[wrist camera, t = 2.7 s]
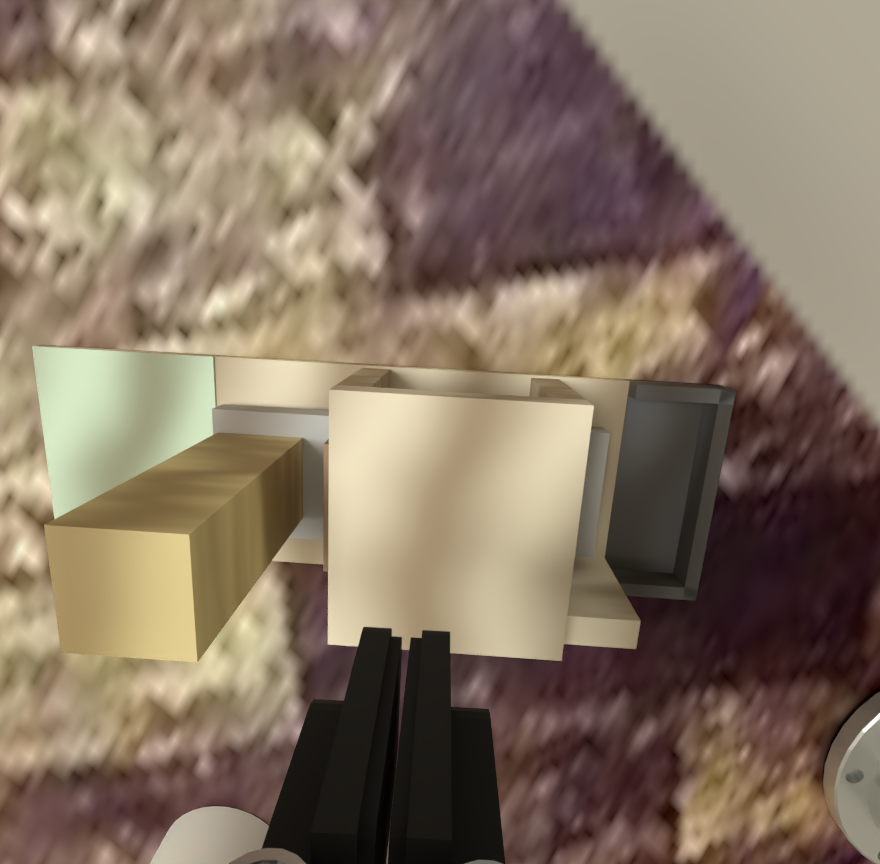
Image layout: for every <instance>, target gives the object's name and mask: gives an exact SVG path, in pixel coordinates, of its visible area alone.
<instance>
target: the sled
mask: <svg viewBox="0 0 880 864" xmlns="http://www.w3.org/2000/svg"><path fill="white" fill-rule="evenodd" d="M212 422H213V435H212V436H210V437H208V438H206V439H205V440H203V441H201V442H199V443H197V444H195V445H193V446H191V447H190V448H188V449H186V450H184V451H182V452H180V453H178V454H176V455H174V456H173V457H171V458H169V459H167V460H165V461H163V462H161V463H159V464H158V465H156V466H154V467H152V468H150V469H148V470H146V471H144V472H143V473H141V474H139V475H137V476H135V477H133V478H131V479H129V480H128V481H126V482H124V483H122V484H120V485H118V486H116V487H114V488H112V489H111V490H109V491H107V492H105V493H103V494H101V495H99V496H97V497H96V498H94V499H92V500H90V501H88V502H86V503H84V504H82V505H81V506H79V507H77V508H75V509H73V510H71V511H69V512H67V513H66V514H64V515H62V516H60V517H58V518H56V519H54V520H52V521H51V522H49V523H47V524H45V525H44V528H45V536H46V543H47V550H48V558H49V565H50V572H51V580H52V587H53V594H54V602H55V609H56V616H57V624H58V631H59V638H60V646H61V653H75V654H88V655H102V656H116V657H130V658H144V659H158V660H172V661H186V662H198V661H199V659H200V658H201V657H202V655H203V654H204V653H205V651H206V650H207V649H208V647H209V646H210V644H211V643H212V642H213V640H214V639H215V638H216V636H217V635H218V633H219V632H220V631H221V629H222V628H223V627H224V625H225V624H226V623H227V621H228V620H229V618H230V617H231V616H232V614H233V613H234V612H235V610H236V609H237V607H238V606H239V605H240V603H241V602H242V601H243V599H244V598H245V597H246V595H247V594H248V592H249V591H250V590H251V588H252V587H253V586H254V584H255V583H256V582H257V580H258V579H259V577H260V576H261V575H262V573H263V572H264V571H265V569H266V568H267V566H268V565H269V564H270V562H271V561H272V560H273V558H274V557H275V556H276V554H277V553H278V551H279V550H280V549H281V547H282V546H283V545H284V543H285V542H286V540H287V539H288V538H300V539H315V540H323V571H328V499H329V410H313V409H297V408H280V407H264V406H248V405H231V404H222V405H220V406H218V407H215V408H213V409H212ZM609 436H610V433H609V432H608V431H607V430H605V429H604V428H603V427H592V426H591V433H590V441H589V449H588V457H587V465H586V472H585V480H584V488H583V496H582V504H581V512H580V520H579V527H578V535H577V543H576V551H575V557H586V558H593V553H594V546H595V539H596V531H597V524H598V517H599V509H600V502H601V495H602V487H603V480H604V473H605V465H606V458H607V451H608V443H609Z"/></svg>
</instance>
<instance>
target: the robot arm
mask: <svg viewBox="0 0 880 864" xmlns="http://www.w3.org/2000/svg"><path fill="white" fill-rule="evenodd" d="M401 654H402V637H396V636H392V628H378V627H363V629H362V633H361V637H360V641H359V645H358V649H357V653H356V656H355V660H354V664H353V668H352V672H351V676H350V680H349V684H348V688H347V692H346V696H345V699H344V701H335V700H317V699H314V700H313V701H312V702H311V704H310V707H309V709H308V712H307V715H306V718H305V721H304V724H303V727H302V730H301V733H300V736H299V739H298V742H297V745H296V748H295V751H294V754H293V757H292V760H291V763H290V766H289V769H288V772H287V775H286V778H285V781H284V784H283V787H282V789H281V792H280V795H279V798H278V801H277V804H276V807H275V810H274V813H273V816H272V819H271V822H270V825H269V828H268V831H267V834H266V837H265V840H264V843H263V846H262V849H260V850H256V851H252V852H248V853H246V854H244V855H242V856H241V857H239V858H237V859H235V860H233V861H232V862H230V863H229V864H386V857H387V848H388V839H389V830H390V839H389V857H388V864H505V857H504V847H503V837H502V828H501V818H500V808H499V798H498V788H497V778H496V769H495V759H494V749H493V739H492V729H491V719H490V712H489V709H478V708H460V707H451V681H450V631H432V630H422V638H414V637H411V639H410V648H409V658H408V667H407V676H406V685H405V695H404V704H403V713H402V722H401V731H400V741H399V750H398V726H399V702H400V678H401ZM397 750H398V759H397ZM396 764H397V768H396ZM395 775H396V778H395ZM394 784H395V787H394ZM823 787H824V794H825V801H826V804H827V806H828V808H829V811H830V813H831V815H832V818H833V819H834V821H835V822H836V823H837V825H838V826H839V828H840V829H841V831H842V832H843V833H844V835H845V836H846V838H847V839H848V841H849V842H850V843H851V844H852V845H853V846H854V847H855V848H856V849H857V850H858V851H859V852H860V853H861V854H862V855H863V856H865V857H866V858H867V859H869V860H870V861H872V862H873V863H875V864H880V691H879V692H878V693H876V694H875V695H874V696H873V697H871V698H870V699H869V700H868V701H866V702H865V703H864V704H863V705H862V706H860V707H859V708H858V709H857V710H856V711H855V712H854V714H853V715H852V716H851V717H850V718H849V719H848V720H847V722H846V723H845V724H844V725H843V726H842V728H841V730H840V731H839V733H838V735H837V736H836V738H835V740H834V741H833V743H832V745H831V748H830V751H829V754H828V757H827V760H826V763H825V768H824V778H823ZM393 793H394V796H393ZM392 802H393V805H392ZM391 812H392V815H391ZM390 821H391V826H390Z"/></svg>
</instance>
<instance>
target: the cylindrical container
mask: <svg viewBox="0 0 880 864" xmlns="http://www.w3.org/2000/svg"><path fill="white" fill-rule="evenodd" d="M268 828H269V826H268V825H267V824H266V823H265V822H263V821H262V820H261V819H259V818H257V817H255V816H254V815H252V814H250V813H247V812H244V811H242V810H239V809H235V808H230V807H222V806H211V807H203V808H199V809H195V810H192V811H190V812H188V813H186V814H184V815H182V816H181V817H180V818H179V819H177V820H176V821H175V822H174V823H173V825H172V826H171V827H170V829H169V830H168V832H167V834H166V835H165V837H164V839H163V841H162V843H161V844H160V846H159V848H158V850H157V852H156V854H155V855H154V857H153V859H152V861H151V863H150V864H229V863H230V862H232V861H233V860H235V859H237V858H239V857H241V856H242V855H244V854H246V853H248V852H252V851H256V850H260V849H262V846H263V843H264V840H265V837H266V834H267V831H268Z"/></svg>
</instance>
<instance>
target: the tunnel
mask: <svg viewBox="0 0 880 864" xmlns="http://www.w3.org/2000/svg"><path fill="white" fill-rule="evenodd" d="M32 350H33V357H34V365H35V373H36V380H37V388H38V396H39V403H40V411H41V419H42V426H43V434H44V442H45V449H46V457H47V464H48V472H49V480H50V487H51V495H52V503H53V510H54V518H55V519H56V518H58V517H60V516H62V515H64V514H66V513H67V512H69V511H71V510H73V509H75V508H77V507H79V506H81V505H82V504H84V503H86V502H88V501H90V500H92V499H94V498H96V497H97V496H99V495H101V494H103V493H105V492H107V491H109V490H111V489H112V488H114V487H116V486H118V485H120V484H122V483H124V482H126V481H128V480H129V479H131V478H133V477H135V476H137V475H139V474H141V473H143V472H144V471H146V470H148V469H150V468H152V467H154V466H156V465H158V464H159V463H161V462H163V461H165V460H167V459H169V458H171V457H173V456H174V455H176V454H178V453H180V452H182V451H184V450H186V449H188V448H190V447H191V446H193V445H195V444H197V443H199V442H201V441H203V440H205V439H206V438H208V437H210V436H212V435H213V422H212V409H213V408H215V407H218V406H220V405H222V404H231V405H248V406H264V407H280V408H297V409H313V410H329V499H328V644H331V645H345V646H358V645H359V641H360V637H361V633H362V629H363V627H378V628H392V636H396V637H402V650H409V648H410V639H411V637H414V638H422V630H432V631H450V653H458V654H472V655H486V656H500V657H514V658H528V659H542V660H557V661H562V653H563V645H564V644H572V645H586V646H600V647H614V648H629V649H636V646H637V640H638V634H639V628H640V622H641V621H640V619H639V617H638V616H637V614H636V612H635V610H634V609H633V607H632V605H631V603H630V602H629V600H628V598H627V596H636V597H651V598H666V599H681V600H695V601H696V597H697V592H698V587H699V581H700V576H701V571H702V566H703V560H704V555H705V550H706V545H707V540H708V534H709V529H710V524H711V519H712V514H713V508H714V503H715V498H716V493H717V488H718V482H719V477H720V472H721V467H722V462H723V456H724V451H725V446H726V441H727V436H728V430H729V425H730V420H731V415H732V409H733V404H734V399H735V394H736V390H733V389H730V388H727V387H724V386H720V385H712V384H695V383H678V382H661V381H644V380H627V379H610V378H593V377H576V376H559V375H542V374H526V373H509V372H492V371H475V370H458V369H441V368H424V367H407V366H390V365H373V364H356V363H339V362H322V361H305V360H288V359H271V358H254V357H237V356H220V355H203V354H187V353H170V352H153V351H136V350H119V349H102V348H85V347H68V346H51V345H38V346H32ZM591 426H592V427H603V428H604V429H605V430H607V431H608V432H609V433H610V436H609V443H608V451H607V458H606V465H605V473H604V480H603V487H602V495H601V502H600V509H599V517H598V524H597V531H596V539H595V546H594V553H593V558H586V557H575V551H576V543H577V535H578V527H579V520H580V512H581V504H582V496H583V488H584V480H585V472H586V465H587V457H588V449H589V441H590V433H591ZM272 561H282V562H297V563H311V564H323V540H315V539H300V538H288V539H287V540H286V542H285V543H284V545H283V546H282V547H281V549H280V550H279V551H278V553H277V554H276V556H275V557H274V558H273V560H272Z"/></svg>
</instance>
